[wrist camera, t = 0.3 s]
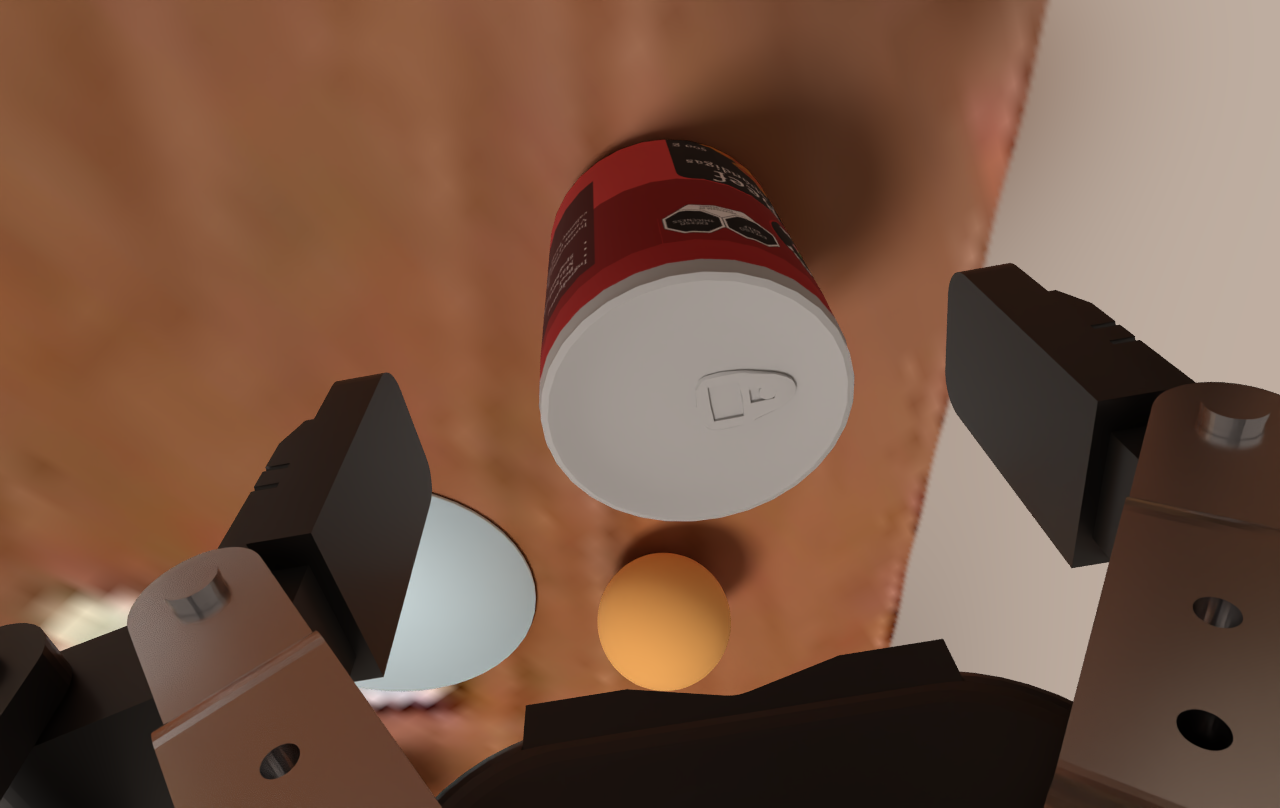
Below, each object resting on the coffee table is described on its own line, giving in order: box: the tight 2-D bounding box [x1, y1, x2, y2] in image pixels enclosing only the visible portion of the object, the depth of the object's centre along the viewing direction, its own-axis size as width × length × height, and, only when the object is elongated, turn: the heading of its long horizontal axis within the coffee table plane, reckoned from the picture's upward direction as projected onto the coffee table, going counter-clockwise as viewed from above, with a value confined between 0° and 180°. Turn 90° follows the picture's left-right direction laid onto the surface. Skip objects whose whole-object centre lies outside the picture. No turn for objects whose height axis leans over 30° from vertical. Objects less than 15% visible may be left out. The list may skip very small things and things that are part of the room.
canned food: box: [539, 140, 854, 521], centre depth 24 cm, size 8×8×11 cm
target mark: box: [354, 494, 536, 691], centre depth 38 cm, size 14×14×1 cm
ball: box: [598, 553, 731, 691], centre depth 36 cm, size 6×6×6 cm
